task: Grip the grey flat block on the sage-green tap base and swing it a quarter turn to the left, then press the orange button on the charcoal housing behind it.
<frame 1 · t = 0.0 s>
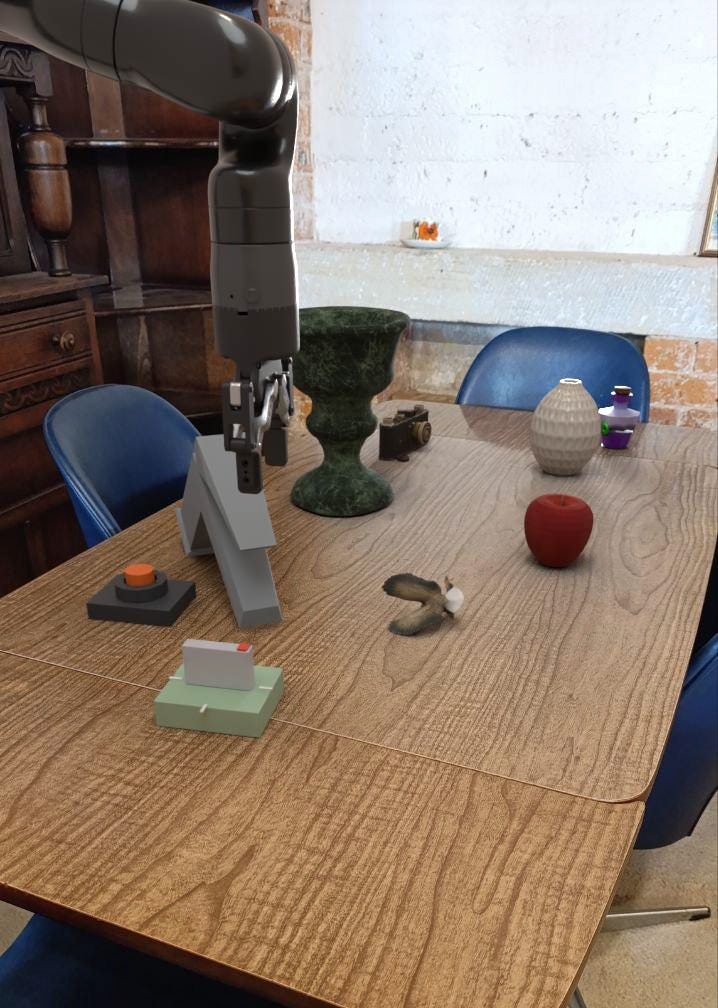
hand: (264, 478, 84), 24 cm above the table, tool pointing down, fingers open, 8 cm apart
goblet: (342, 499, 151), on the table
grey flat block: (218, 663, 90), point 5 cm above the table, hinge at 0.0°
button: (139, 575, 111), point 4 cm above the table, slide at 0.1 cm
apple: (553, 563, 127), on the table
tap base: (222, 708, 92), on the table
bracket: (230, 579, 122), on the table
camera: (408, 452, 177), on the table
vase: (560, 472, 166), on the table
button box: (143, 607, 113), on the table
potion bottle: (614, 446, 181), on the table
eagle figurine: (422, 624, 110), on the table
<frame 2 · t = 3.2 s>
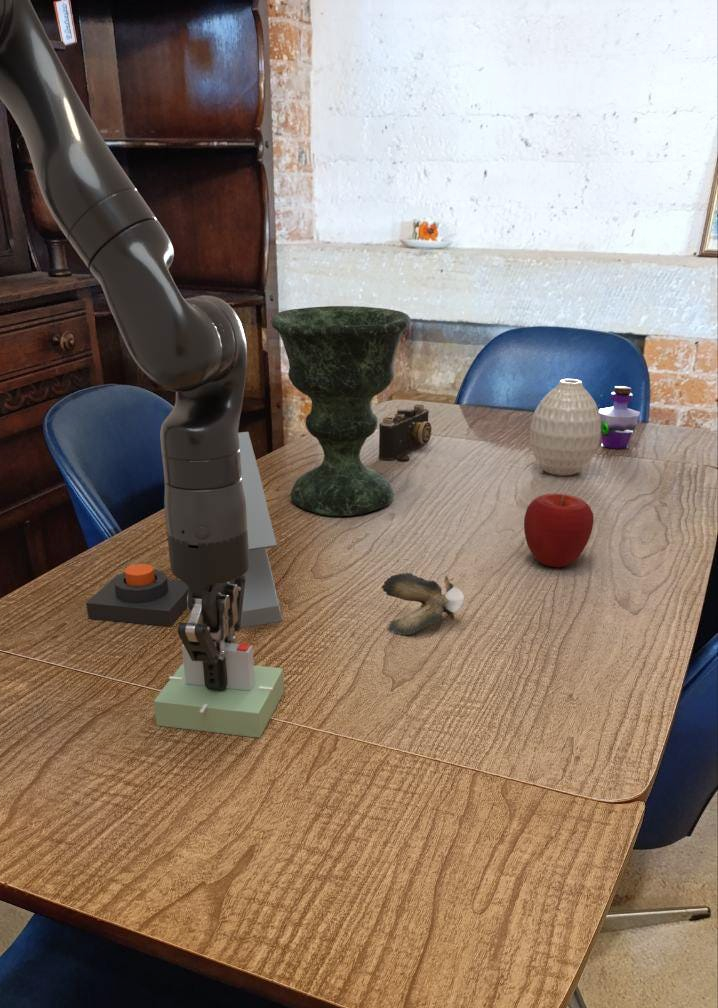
hand: (220, 682, 91), 3 cm above the table, tool pointing down, fingers closed on grey flat block
grey flat block: (218, 663, 90), point 5 cm above the table, hinge at 0.0°, touching gripper
everything else where it was.
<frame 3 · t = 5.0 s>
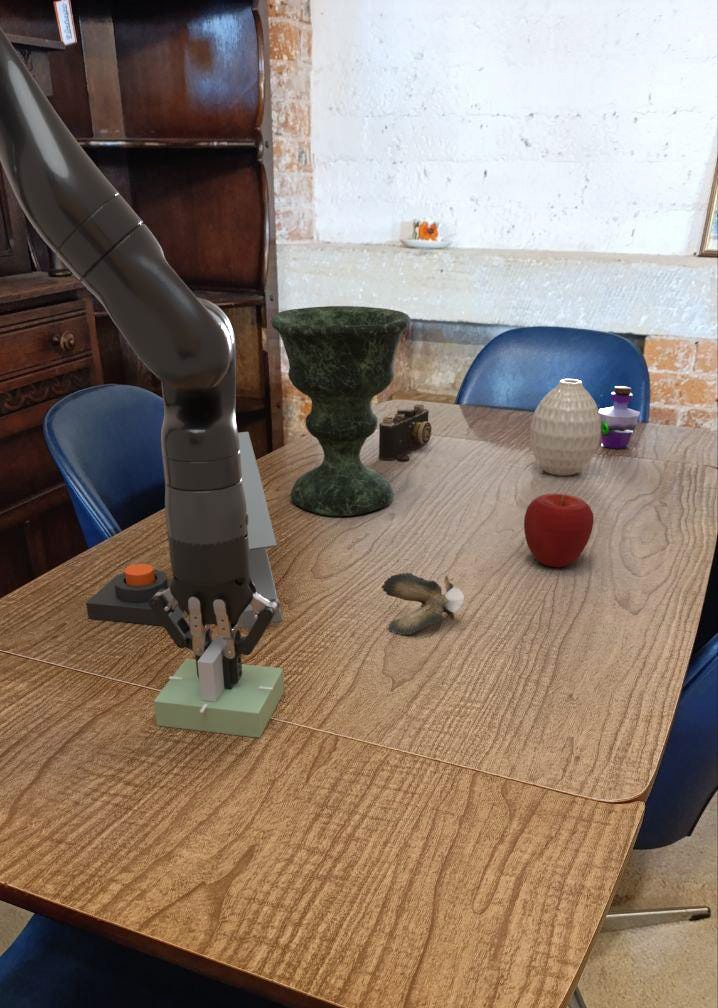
hand: (220, 683, 91), 3 cm above the table, tool pointing down, fingers closed on tap base, 2 cm apart
grey flat block: (218, 663, 90), point 5 cm above the table, hinge at 89.9°
everything else where it was.
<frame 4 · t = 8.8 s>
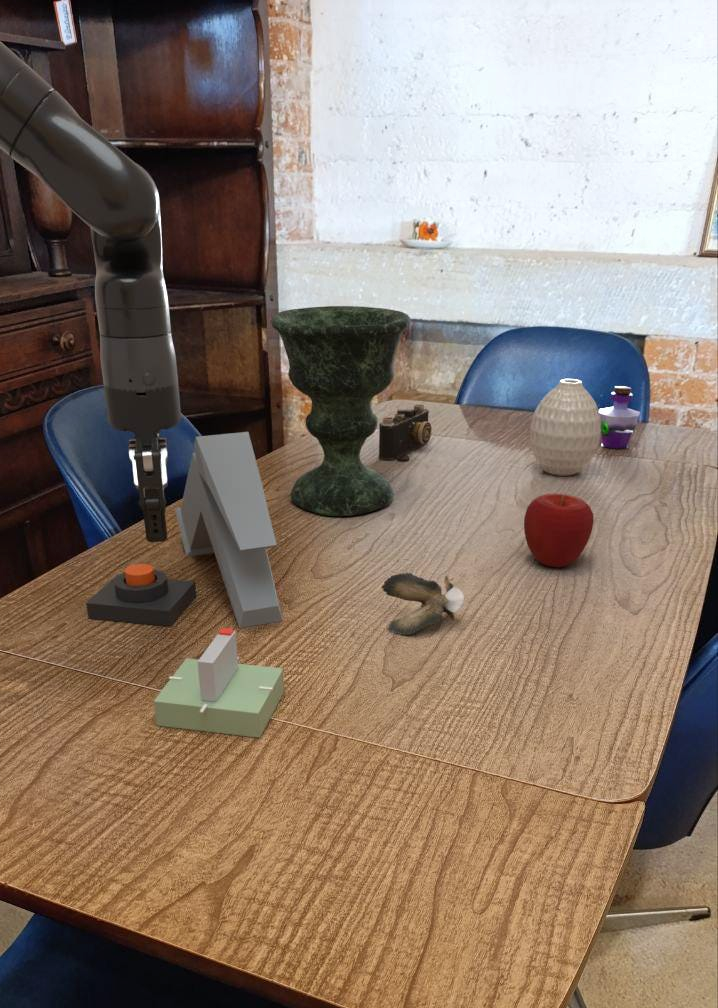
hand: (156, 526, 98), 15 cm above the table, tool pointing down, fingers open, 8 cm apart
nothing on the table moved.
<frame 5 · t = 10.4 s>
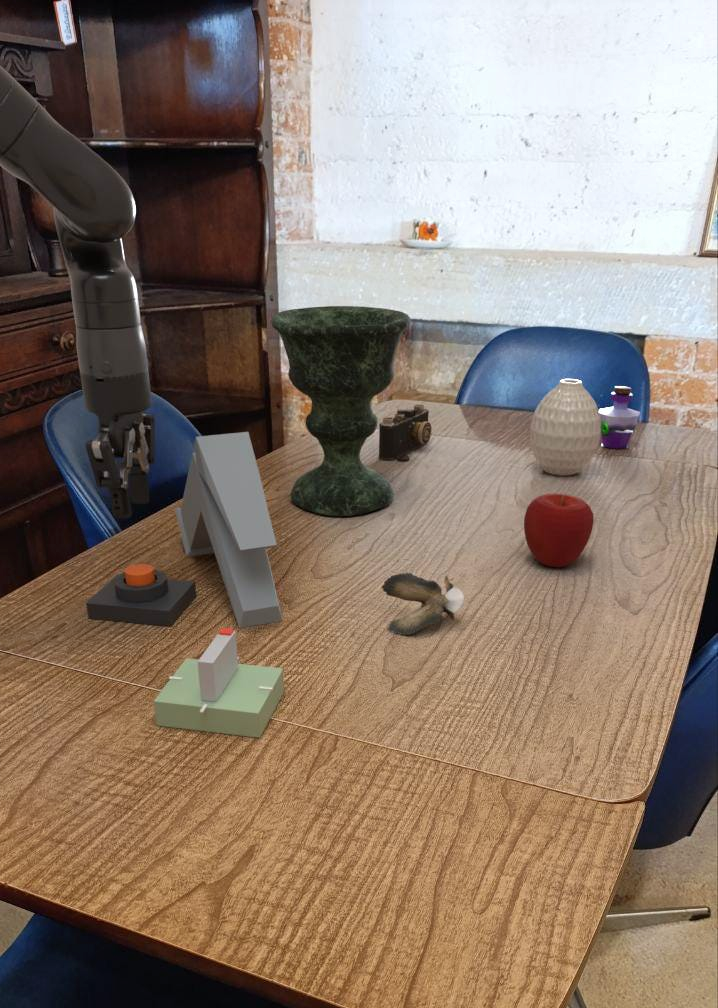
hand: (131, 509, 107), 13 cm above the table, tool pointing down, fingers open, 4 cm apart
nothing on the table moved.
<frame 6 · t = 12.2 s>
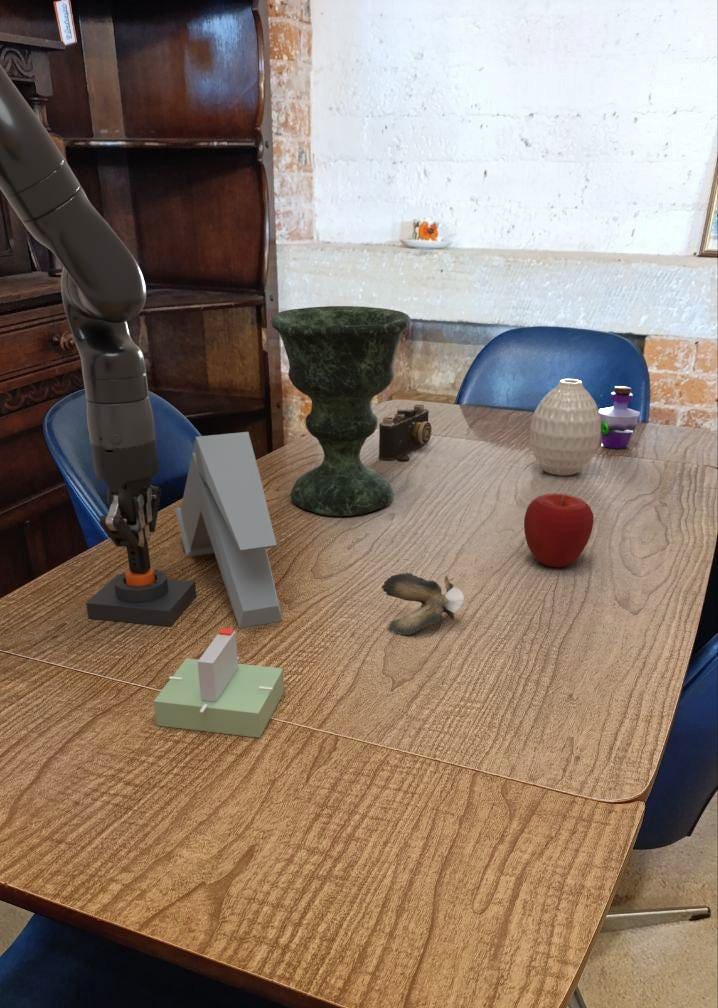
hand: (140, 571, 111), 5 cm above the table, tool pointing down, fingers closed
button: (140, 577, 111), point 4 cm above the table, slide at -0.2 cm, touching gripper
everything else where it was.
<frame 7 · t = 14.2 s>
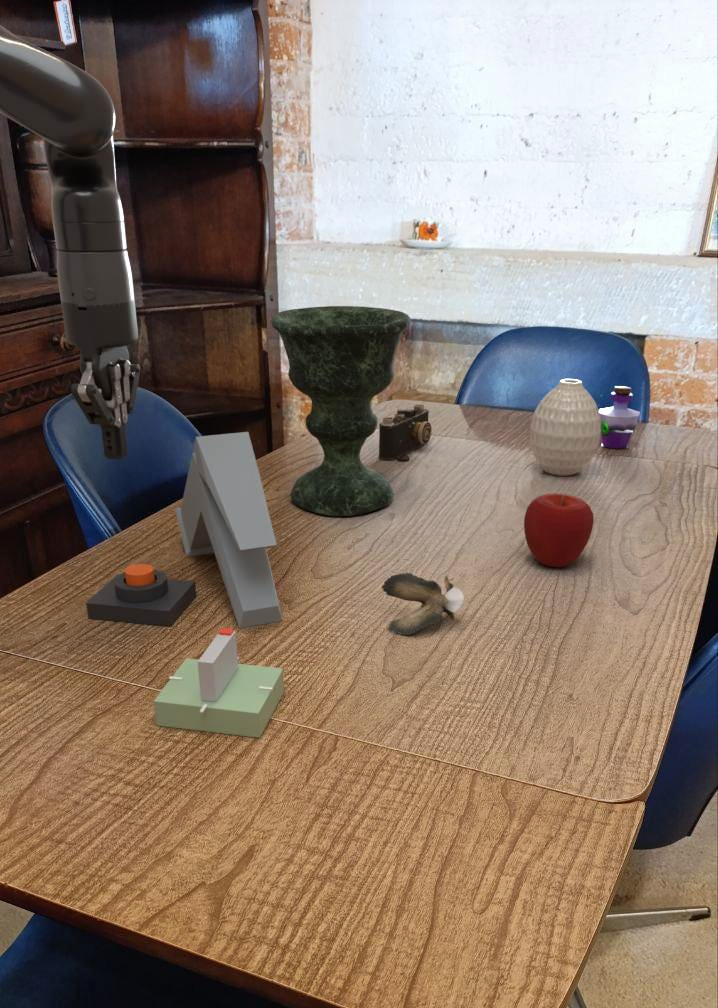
hand: (116, 457, 100), 21 cm above the table, tool pointing down, fingers closed
button: (139, 575, 111), point 4 cm above the table, slide at 0.1 cm
everything else where it was.
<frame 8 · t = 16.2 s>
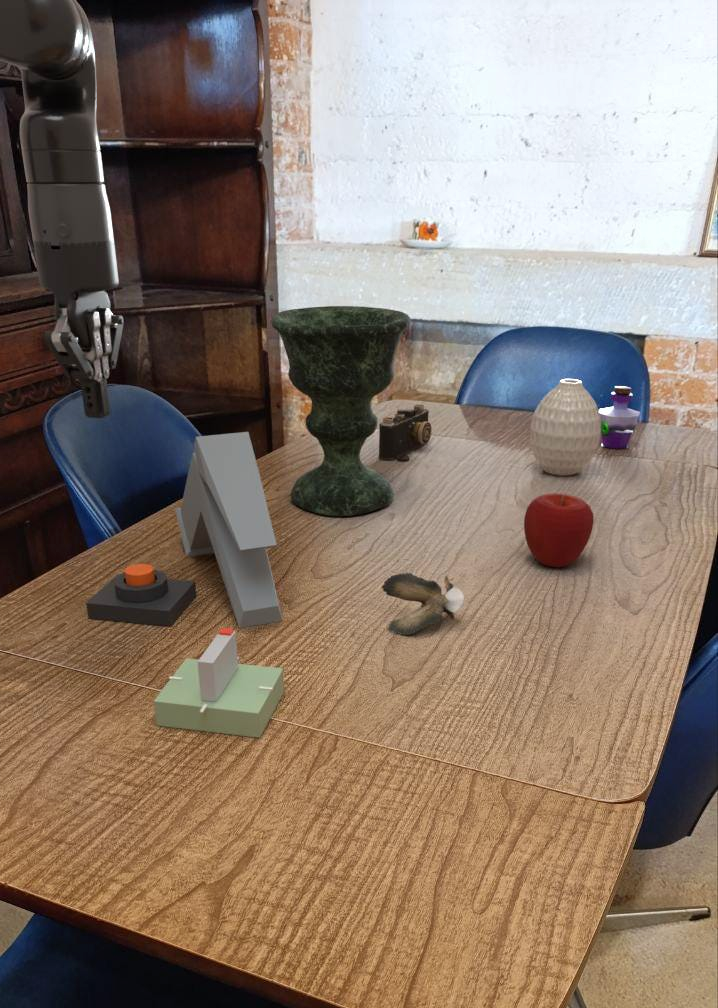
hand: (98, 416, 93), 27 cm above the table, tool pointing down, fingers closed
nothing on the table moved.
at the end: grey flat block at +90° (first picture: +0°); button pushed in 1.1 cm at the most during the clip, back to where it started at the end; button slide at 0.1 cm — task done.
